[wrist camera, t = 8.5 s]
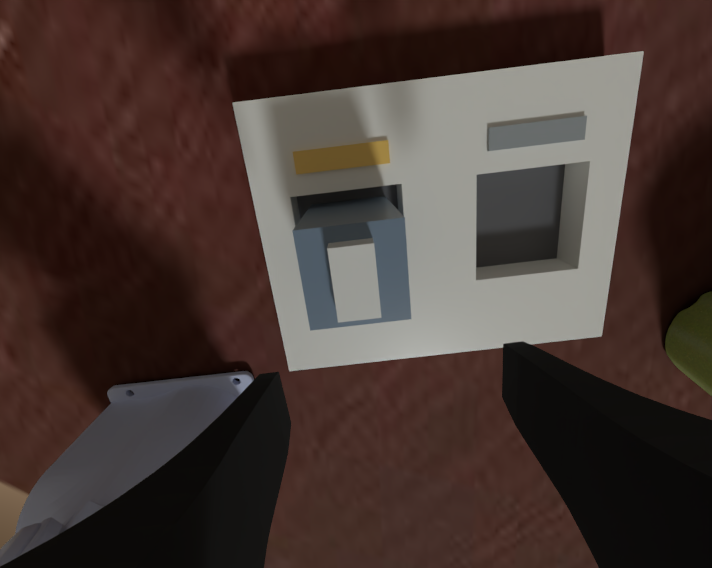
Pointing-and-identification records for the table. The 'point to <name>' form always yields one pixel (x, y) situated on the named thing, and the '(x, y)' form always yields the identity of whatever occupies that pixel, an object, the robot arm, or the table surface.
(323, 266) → the plug
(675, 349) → the plant pot
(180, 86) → the table surface
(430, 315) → the socket panel
